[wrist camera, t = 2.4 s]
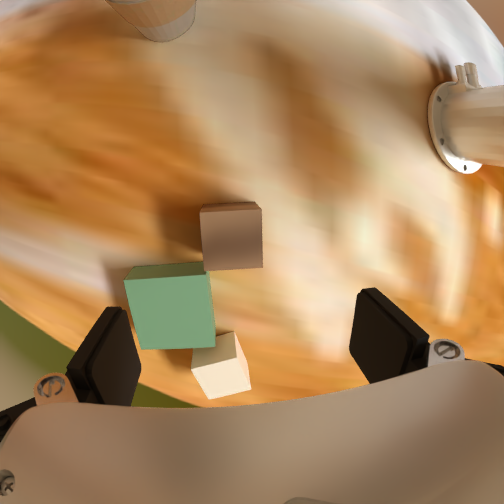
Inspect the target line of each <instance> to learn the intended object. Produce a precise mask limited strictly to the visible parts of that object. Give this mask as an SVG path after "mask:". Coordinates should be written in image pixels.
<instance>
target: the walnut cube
mask: <svg viewBox="0 0 504 504" xmlns="http://www.w3.org/2000/svg"><path fill="white" fill-rule="evenodd" d="M200 226H201V240H202V252H203V264H204V271H216V270H233V269H249V268H263V252H262V209H261V208H260V207H259V206H258V205H257V204H256V203H255V202H241V203H222V204H205V205H203V207H202V209H201V211H200Z"/></svg>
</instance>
